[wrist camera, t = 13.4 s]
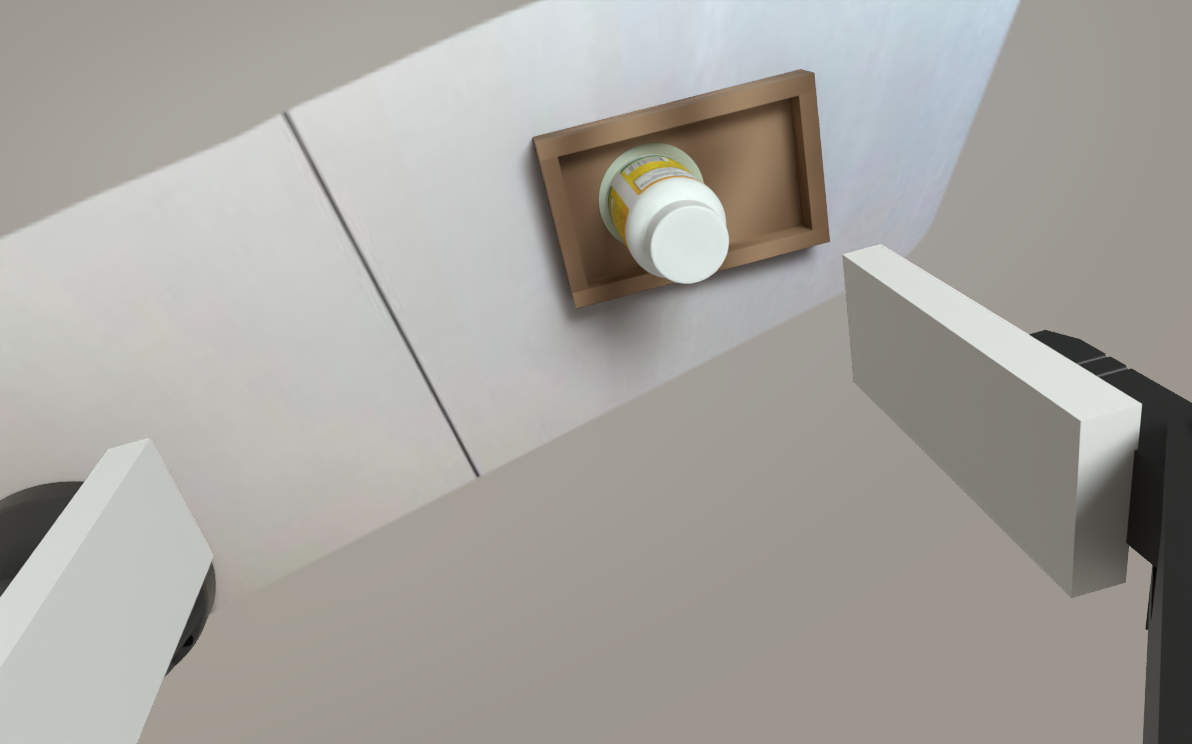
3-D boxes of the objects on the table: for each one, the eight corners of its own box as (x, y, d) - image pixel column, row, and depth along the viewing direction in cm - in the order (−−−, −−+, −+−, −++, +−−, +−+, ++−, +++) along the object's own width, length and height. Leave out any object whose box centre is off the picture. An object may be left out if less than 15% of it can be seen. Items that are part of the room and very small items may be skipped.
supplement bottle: (638, 134, 48) (679, 168, 39) (711, 183, 50) (765, 225, 41) (587, 214, 49) (616, 264, 41) (660, 258, 51) (702, 315, 43)
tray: (571, 297, 52) (576, 308, 50) (532, 137, 48) (535, 143, 46) (817, 232, 53) (829, 241, 51) (800, 69, 48) (814, 72, 47)
